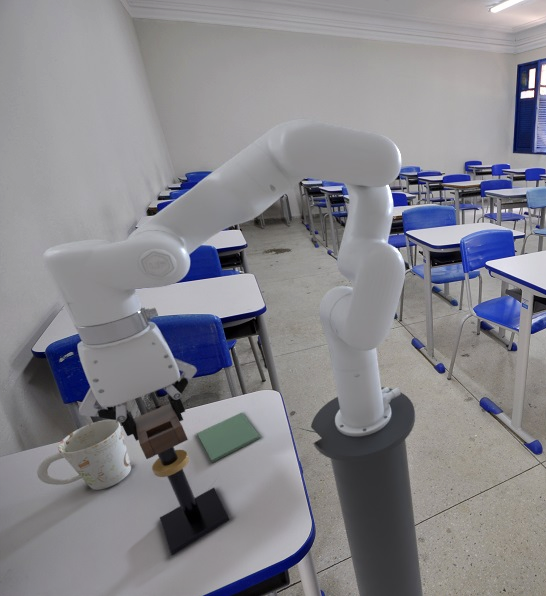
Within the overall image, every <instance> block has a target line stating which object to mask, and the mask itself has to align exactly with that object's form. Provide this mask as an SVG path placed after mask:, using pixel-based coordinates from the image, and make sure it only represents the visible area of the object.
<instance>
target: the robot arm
mask: <svg viewBox="0 0 546 596" xmlns="http://www.w3.org/2000/svg"><path fill="white" fill-rule="evenodd" d="M402 166H403V165H402V156H401V152H400V149H399V148H398V146H397V145H396V143H395V142H394V141H393V140H392V139H390V138H389V137H387V136H386V135H384V134H381V133H377V132H373V131H368V130H364V129H359V128H354V127H348V126H343V125H339V124H334V123H330V122H325V121H321V120H315V119H311V118H295V119H292V120H291V119H290V120H287V121H284V122H281V123H279V124H277V125H274V126H273V127H272V128H270V129H269V130H267V131H266V132H264V133H263V134H262V135H261V136H259V137H258V138H257V139H255V140H254V141H252V142H251V143H250V144H249V145H247V146H246V147H244V148H243V149H242V150H241V151H239V152H238V153H237V154H235V155H234V156H233V157H231V158H230V159H228V160H227V161H226V162H225V163H223V164H221V165H220V166H219V167H217V168H216V169H214V170H213V171H212V172H210V173H209V174H208V175H206V176H205V177H204V178H203V179H201V180H200V181H199V182H197V184H195V185H194V186H193V187H191V188H190V189H189V190H188V191H186V192H185V193H183V194H182V195H180V196H179V197H178V198H176V199H175V200H173V201H172V202H170V203H169V204H167V206H165V207H164V208H162V209H161V210H159V211H158V212H157V213H156V214H153V216H151V217H149V219H147V220H146V221H145V222H143V223H142V224H141V225H139V226H138V227H137V228H135V229H134V230H133V231H132V232H131V233H130V234H129V235H128V237H127V239H125V240H121V241H115V242H113V241H111V240H108V239H102V238H96V239H85V240H76V241H70V242H66V243H62V244H61V243H60V244H57V245H54V246H51V247H50V248H48V249H46V250H45V251H44V252H43V254H42V262H43V264H44V267H45V269H46V271H47V273H48V275H49V276H50V279H51V281H52V283H53V285H54V287H55V289H56V291H57V293H58V295H59V297H60V299H61V301H62V303H63V305H64V308H65V309H66V311H67V313H68V315H69V317H70V319H71V321H72V323H73V325H74V328H75V330H76V332H77V334H78V336H79V338H80V340H81V341H79V342H78V343H77V345H76V347H77V352H78V357H79V360H80V364H81V366H82V369H83V372H84V374H85V377H86V380H87V382H88V384H89V389H88V390H87V391H86V394H85V396H84V398H83V400H82V402H81V404H80V405H79V408H78V414H79V416H83V417H99V418H101V419H104V420H116V421H117V422H119V423H120V425H121V427H122V428H123V431H124V432H125V434H126V437H130V436H133V438H134V439H135V442H137V441H139V439H138V435H137V430H136V425H135V421H134V418H135V417H134V416H133V414H132V411H129V410H128V409H127V405H128V404H127V403H128V402H131V401H133V400H135V399H138V398H140V397H143V396H146V395H148V394H151V393H153V392H157V391H159V390H161V389H163V390H164V391H165V392H166V393H167V396H166V397H167V400H168V402H169V404H171V406H172V408H173V410H174V411H175V413H176V415H177V417H178V419H179V421H180V422H183V421H184V417H183V415H182V414H183V413H186V409H185V407H184V404H183V401H182V399H181V397H182V394H183V392H184V391H185V389H186V387H187V386H188V385H189V382H190V381H191V380H192V379H193V378H194V376H195V375H196V374H197V372H198V369H197V367H196V366H195V365H192V364H191V363H188V362H185V361H183V360H180V359H178V358H176V357H174V355H173V353H172V350H171V349H170V345H168V342H167V340H166V339H165V337H164V335H163V333H162V332H161V330H160V329H159V327H158V325H157V324H156V323H155V322H153V321H151V319H153V318H156V317H159V314H158V311H157V309H156V307H152V308H146V307H142V303H141V301H140V298H139V295H138V293H137V291H136V290H139V289H141V290H142V289H155V288H162V287H167V286H171V285H174V284H177V283H178V282H180V281H182V280H183V279H184V278H185V277H186V276H187V274H188V273H189V271H190V267H191V257H190V255H191V254H192V253H193V252H195V250H197V249H198V248H199V247H201V246H202V245H203V244H205V243H206V242H207V241H208V240H210V239H212V238H213V237H214V236H215V235H217V234H219V233H221V232H222V231H224V230H226V229H228V228H230V227H233V226H237V225H241V224H245V223H247V222H249V221H251V220H253V219H256V218H257V217H258V216H260V215H261V214H263V213H264V212H265V211H267V209H269V208H270V207H271V206H272V205H273V204H274V203H276V202H277V201H278V200H279V199H280V198H282V197H283V196H285V195H286V194H287V193H288V192H290V191H291V190H292V189H294V187H296V186H297V185H298V184H299V183H301V182H302V181H304V179H312V180H316V181H322V182H323V181H324V182H328V183H329V182H331V183H337V184H343V185H344V186H345V189H346V191H347V195H348V200H349V205H348V206H349V207H348V213H347V218H346V223H345V227H344V230H343V234H342V238H341V242H340V245H339V250H338V253H337V257H336V258H337V259H336V266H337V269H338V271H339V273H340V274H341V275H342V276H343V277H344V278H345V279H346V280H348V281H349V282H351V283H353V286H347V285H339V286H335V287H333V288H331V289H329V290H328V291H326V293H325V294H324V295H323V296H322V299H321V300H320V303H319V308H318V315H319V321H320V324H321V327H322V330H323V333H324V337H325V339H326V343H327V347H328V353H329V357H330V362H331V368H332V374H333V380H334V384H335V388H336V389H335V390H336V395H337V397H338V401H339V406H340V410H339V411H338V412H337V414H336V417H335V424H336V427H337V429H338V430H339V431H340V432H341V433H343V434H345V435H347V436H353V437H359V436H366V435H370V434H372V433H375V432H377V431H379V430H380V429H382V428H383V427H384V426H385V425H386V424H387V423H388V422H389V420H390V418H391V407H390V405H389V404H388V403H389V402H390V401H391V399H393V398H395V397H397V396H399V395H400V394H401V393H402V392H401V389H400V388H398V387H395V388H392V389H393V390H391V391H390V390H389V388H390V387H389V386H386V387H385V388H384V389H382V390H381V387H382V383H381V375H380V369H379V361H378V351H377V348H378V347H380V345H382V344H383V343H384V342H385V340H386V339H387V338H388V335H389V334H390V332H391V329H392V326H393V324H394V319H395V317H396V313H397V309H398V306H399V302H400V298H401V295H402V291H403V288H404V284H405V280H406V264H405V260H404V257H403V255H402V254H401V252H400V251H399V249H397V248H396V247H395V246H394V245H392V244H390V243H389V238H390V235H391V234H390V233H391V228H392V223H393V220H394V219H393V218H394V199H393V194H392V191H391V188H390V184H392V183H393V182H395V180H396V179H397V178H398V176H399V175H400V172H401V171H402V170H401V169H402ZM388 392H389V393H388ZM400 392H401V393H400ZM96 403H98V404H97V405H96Z"/></svg>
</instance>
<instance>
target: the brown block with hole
mask: <svg viewBox="0 0 546 596" xmlns="http://www.w3.org/2000/svg"><path fill="white" fill-rule="evenodd" d="M133 418H134V421H135V425H136V430H137V435H138V439H139V440H138V443H139V446H140V448H141V451H142V453H143V454H144V457H145V460H148V459H149V460H150V459H151V458H153V457H155V456H158V454H159V453H161V452H163V451H165V450H168V449H170V448H172V447H174V448H175V447H176V446H178V445H181V444H182V443H185V442H187V441H189V439H188V437H187V434H186V431H185V429H184V427H183V425H182V423H181V421H179V419H178V417H177V415H176V413H175V411H174V410H173V408H172V406H171V404H170V403H168V404H166V405H164V406H161V407H159V408H156V409H153V410H151V411H149V412H146V413H144V414H142V415H139V416H137V417H133ZM160 430H165V431H163V432H161V433H159V434H156V435H154V436H152V434H154V433H155V432H157V431H160ZM151 436H152V437H151Z"/></svg>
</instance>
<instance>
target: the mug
mask: <svg viewBox="0 0 546 596" xmlns="http://www.w3.org/2000/svg"><path fill="white" fill-rule="evenodd" d="M122 428H123V427H122V424H121V422H117V421H116V420H111V419H103V420H98V421H95V422H92V423H89V424H86V425H84V426H82V427H79V428H78V429H76V430H74V431H72V432H71V433H69V434H68V435H67V436H65V437H64V438H63V439H62V440H61V441H60V443H59V444H58V448H57V449H58V452H55V453H53V454H50V455H49V456H46V457H44V459H42V460H41V462H40V463H39V465H38V466H37V468H36V475H37V478H38V479H39V480H40V481H41V482H43V483H44V484H48V485H54V486H57V485H58V486H60V485H69V484H71V483H74V482H77V481H79V480H83V481H84V482H85V483H86V484H87V485H88V487H89V488H90V489H92V490H95V491H100V490H104V489H108V488H110V487H113V486H115V485H117V484H118V483H120V482H121V481H123V480H124V479H125V478H126V477H127V476H128V475H129V474H130V472H131V470H132V465H131V461H130V456H129V452H128V449H127V445H126V441H125V437H124V433H123V429H122ZM61 459H65V460H66V462H67V463H68V464H69V465H70V466H71V468H72V469H74V471H75V472H76V473H77V475H74V476H72V477H69V478H56V477H54V476H51V475H50V474H49V473H48V469H49V467H50V465H51V464H52V463H53V462H56V461H59V460H61Z"/></svg>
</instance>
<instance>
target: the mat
mask: <svg viewBox="0 0 546 596" xmlns="http://www.w3.org/2000/svg"><path fill="white" fill-rule="evenodd" d="M196 434H197V436H198V438H199V440H200V442H201V444H202V446H203V448H204V450H205V452H206V453H207V455H208V457H209V459H210V461H211V463H214V462H216V461H218V460H220V459H222V458H224V457H225V456H228V455H229V454H232V453H233V452H235V451H237V450H239V449H242V448H243V447H245V446H247V445H249V444H251V443H253V442H255V441H258V440H259V439H260V438H261V436H260V435H259V433H258V432H257V431H256V429H255V428H254V427H253V425H252V424H251V422H249V420H248V419H247V417H246V416H245V415H244V414H243V412H240V413H238V414H236V415H234V416H231V417H229V418H227V419H225V420H223V421H220V422H218V423H217V424H214V425H212V426H210V427H208V428H205V429H203V430H201V431H198V432H196Z"/></svg>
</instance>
